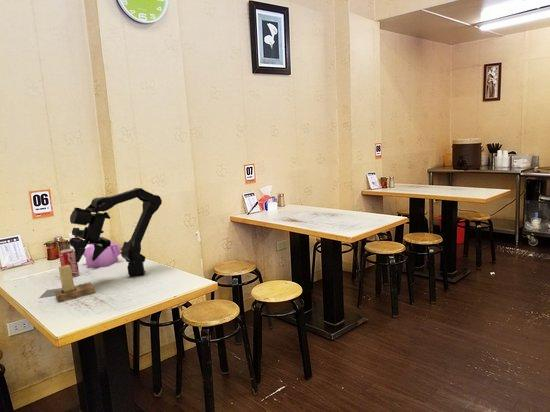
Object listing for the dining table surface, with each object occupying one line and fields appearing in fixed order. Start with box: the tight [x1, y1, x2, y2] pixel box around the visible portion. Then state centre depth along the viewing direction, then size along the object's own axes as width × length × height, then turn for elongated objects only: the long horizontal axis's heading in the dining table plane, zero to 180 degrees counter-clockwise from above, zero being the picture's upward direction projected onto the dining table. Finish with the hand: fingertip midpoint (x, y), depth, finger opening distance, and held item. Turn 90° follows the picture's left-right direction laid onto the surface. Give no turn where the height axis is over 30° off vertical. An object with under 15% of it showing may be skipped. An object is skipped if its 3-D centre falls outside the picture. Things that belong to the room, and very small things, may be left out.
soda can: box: [58, 248, 80, 278], centre depth 198 cm, size 7×7×13 cm
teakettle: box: [82, 240, 122, 269], centre depth 217 cm, size 17×17×12 cm
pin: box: [58, 265, 75, 294], centre depth 169 cm, size 4×4×13 cm
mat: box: [38, 287, 62, 299], centre depth 177 cm, size 10×10×1 cm
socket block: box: [55, 281, 96, 303], centre depth 171 cm, size 14×8×3 cm, turn 124°
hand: (85, 261), depth 179 cm, fingers open, 9 cm apart
